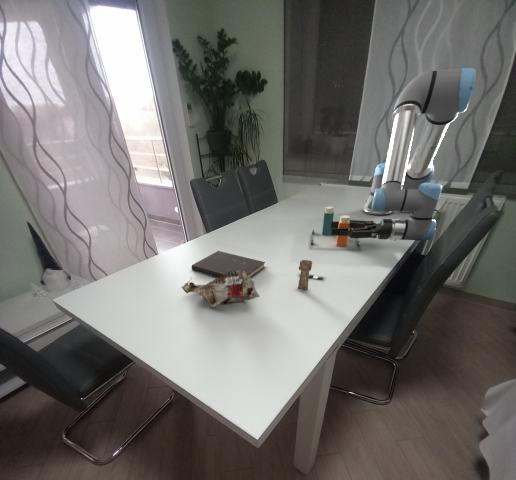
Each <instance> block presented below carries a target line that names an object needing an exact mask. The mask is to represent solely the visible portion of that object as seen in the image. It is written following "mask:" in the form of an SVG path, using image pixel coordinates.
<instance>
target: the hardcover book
mask: <svg viewBox="0 0 516 480" xmlns="http://www.w3.org/2000/svg"><path fill="white" fill-rule="evenodd" d="M265 263H266V261H263V260H258V259H254V258H250V257H245V256H242V255H237V254H233V253H229V252H224V251H221V250H217V251H215V252H213V253H211V254H209V255H208V256H206V257H204V258H202V259H200V260H198V261H197V262H195V263H193V264H192V265H191V270H192V271H194V272H196V273H201V274H204V275H207V276H210V277H213V278H216V279H217V278H219V277H221V276H223V275H225V274H226V273H228V272H230V271H232V270H235V271H245V273H246V274H247V276H248V277H249V278H250V279H252V278H253V277H254V276H256V275H257V274H259V273H260V272H261V271H263V270H265V268H266V266H265Z"/></svg>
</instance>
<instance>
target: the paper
mask: <svg viewBox="0 0 516 480" xmlns="http://www.w3.org/2000/svg"><path fill="white" fill-rule="evenodd" d="M180 288H181V289H182V290H183V292H184V293H186V294H188V293H195V294H198V295H200V296H201V298H202V299H206V300H207V302H209V303H210V308H214V307H215V306H222V305H232V304H239V303H240V304H241V303H245V301H250V300H253V299H256V298H259V297H261V295H260V294H259V292H258V291H257V289H256V285H255V281H254V280H253V279H252V278H249V277H248V276H247V274H246V273H245V271H235V270H232V271H230V272H228V273H226V274H225V275H223V276H221V277H219V278H217V277H216V278H214V279H212V280H211V281H209V282H208V283H206V284H198V283H197V284H195V283H194V282H192V278H190V279H189V281H187V282H185V283H184V284H183V285H182V286H181V287H180Z"/></svg>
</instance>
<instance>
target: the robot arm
mask: <svg viewBox="0 0 516 480" xmlns="http://www.w3.org/2000/svg"><path fill="white" fill-rule="evenodd" d="M476 78H477V71H476V69H475V68H474V67H470V68H469V67H462V68H453V69H440V70H438V69H437V70H426V71H424V72H422V73H420V74H418V75H417V76H415V77H414V78H413V79H412V80H411V81H410V82H409V83H408V84H407V85H406V86H405V87H404V88H403V89H402V91H401V93H400V94H399V96H398V98H397V99H396V102H395V104H394V107H393V109H392V115H391V121H392V123H393V124H392V129H391V134H390V139H389V143H388V150H387V155H386V160H385V162H381V163H379V164H377V165H376V167H375V170H374V173H373V179H372V183H371V189H370V193H369V197H368V199H367V200H365V203H364V204H365V205H364V207H363V211H362V212H363V213H365V214H368V215H371V216H372V215H373V216H389V215H391V214H393V212H395V213H410V214H409V218H393V219H392V218H382V219H381V220H380V222H379V223H376V222H375V221H374V220H361V219H350V220H349V222H350V226H349V228H338V225H339V221H340V220H337V221H336V220H333V221H331V229H332V231H331V235H330V236H332V237H333V236H336V237H337V236H348V237H349V239H378V240H388V239H389V240H390V241H391V240H393V242H395V241H415V242H416V241H417V242H419V241H429V240H431V239H432V238H433V237H434V236H435V233H436V230H437V229H436V228H437V220H435V219H433V216H434V214H435V212H437V213H438V214H440V213H441V212H440V210H438V209H436V208H437V205H438V202H439V201H440V197H441V194H442V190H443V186H442V184H440V183H437V182H431V180H432V179H433V176H434V174H435V173H434V172H435V165H434V164H433V160H434V157H435V156H436V154H437V152H438V149H439V147H440V145H441V142H442V140H443V138H444V136H445V133H446V132H447V129H448V128H449V125H450V123H452V122H454V121H455V120H456V119H457V117H458V116H459V114H462V113H465V112H466V111H467V109H468V107H469V105H470V102H471V99H472V94H473V93H474V92H473V91H474V88H475V83H476ZM421 115H424V118H425V124H424V126H423V129H422V132H421V134H420V137H419V140H418V141H417V145H416V147H415V150H414V153H413V156H412V158H410V151H411V148H412V147H411V146H412V142H413V139H414V138H413V137H414V133H415V128H416V123H417V121H418V120H419V118H420V116H421ZM409 158H410V159H409Z"/></svg>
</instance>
